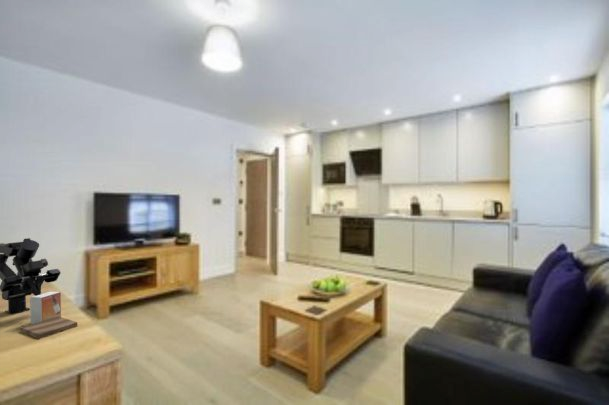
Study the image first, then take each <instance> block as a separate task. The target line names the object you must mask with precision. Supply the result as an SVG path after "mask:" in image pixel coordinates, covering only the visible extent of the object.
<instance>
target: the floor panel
mask: <svg viewBox="0 0 609 405" xmlns="http://www.w3.org/2000/svg"><path fill="white" fill-rule="evenodd" d="M76 327H78V321H75V320H71V319H68V318H65V317H62V316H61V317H59V316H58V317H55V318H51V319H48V320H45V321H41V322H38V323H34V324H31V323H30V324H28V325H25V326H20V332H21V333H24V334H26V335H29V336H31V337H34V338H36V339H39V340H40V339H42V338H46V337H49V336H51V335H56V334H58V333H61V332H64V331H67V330H70V329H74V328H76Z"/></svg>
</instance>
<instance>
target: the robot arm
mask: <svg viewBox="0 0 609 405" xmlns="http://www.w3.org/2000/svg"><path fill="white" fill-rule="evenodd" d="M39 247H40V244H39V242H37V241H36V240H32V239H31V238H30V237H28V238H23V241H16V242H7V243H3V242H2V243H0V280H1V282H0V292H1V299H2V300H5V301H7V304H8V306H7V308H8V309H7V310H5V311H4V313H6V314H9V315H14V314H19V313H23V312H25V311H30V307H27V297H28V296H31V295H33V296H37V295H40V294H42V285H43V283H44V282H45V283H47V284H48V283H52V282H56V281H58V279H59V277H60V275H61V271H60V269H59V268H52V269H48V270H46V272H45V273H43V274H41V273H42V269H44V268H46V267H47V266H49V262H48V260H47V258H41V259H39V260H34V261H33V258H34V257H35V256H36V254H37V252H38V250H39ZM10 257H11V258H13V259H12V266H15V269H16V271H17V273H16V272H15V271H14V270H13V269H12V268H11V267H10V266H9V265H8V264H7V262H8V259H9V258H10Z"/></svg>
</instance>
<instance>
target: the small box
mask: <svg viewBox="0 0 609 405" xmlns="http://www.w3.org/2000/svg"><path fill="white" fill-rule="evenodd" d="M61 295H62V294H61V291H48V292H43V293H41V294H40V295H37V296H35V295H33V296H30V297H29V299H30V300H29V303H30V307H29V308H30V310H29V311H30V325H31V324H34V323H38V322H41V321H45V320H48V319H51V318H55V317H58V316H59V317H62V301H61V300H62V299H61V298H62V297H61Z"/></svg>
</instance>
